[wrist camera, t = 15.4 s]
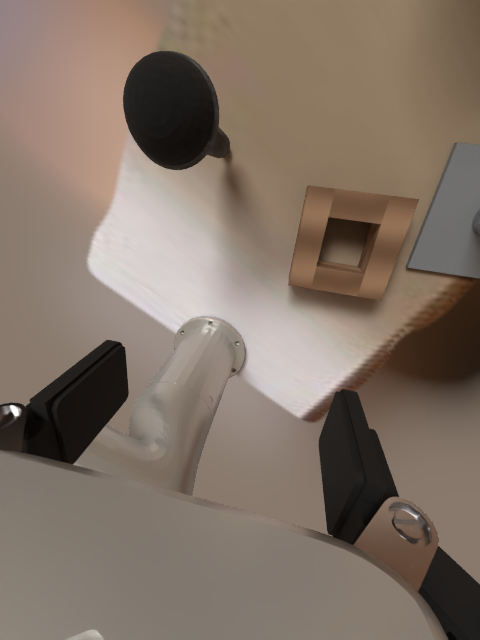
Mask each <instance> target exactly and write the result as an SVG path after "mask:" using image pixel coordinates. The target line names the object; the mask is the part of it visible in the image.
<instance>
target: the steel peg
mask: <svg viewBox="0 0 480 640" xmlns="http://www.w3.org/2000/svg"><path fill="white" fill-rule="evenodd" d="M472 226H473V230H474V231H475V233H476V234H478V235H480V210H479V211H478V212H477V213H476V215H475V216H474V219H473V223H472Z"/></svg>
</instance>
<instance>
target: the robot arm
mask: <svg viewBox="0 0 480 640" xmlns="http://www.w3.org/2000/svg"><path fill="white" fill-rule="evenodd" d="M237 341H238V342H237ZM244 358H245V347H244V343H243V340H242V338H241V337H240V335H239V334H238V332H237V331H236V330H235V329H234V328H233V327H232V326H231V325H229V324H228V323H226V322H225V321H223V320H220V319H218V318H214V317H206V316H202V317H196V318H193V319H190V320H189V321H187V322H186V323H184V324H183V325H182V326H181V328H180V329H179V330H178V332H177V334H176V336H175V340H174V352H173V353H172V354H171V356H170V357H169V358H168V359H167V361H166V362H165V363H164V365H163V366H162V367H161V369H160V370H159V371H158V373H157V374H156V375H155V376H154V378H153V379H152V381H151V382H150V383H149V384H148V386H147V387H146V388H145V390H144V391H143V392H142V393H141V395H140V396H139V397H138V399H137V401H136V402H135V405H134V407H133V409H132V412H131V417H130V424H129V435H127V434H124V433H122V432H120V431H119V430H117V429H115V428H113V427H112V426H110V425H108V424H107V423H108V422H109V420H110V419H111V418H112V417H113V416H114V414H115V413H116V412H117V411H118V410H119V408H120V407H121V406H122V405H123V403H124V402H125V401H126V399H127V397H128V393H129V392H128V379H127V366H126V353H125V347H123V346H122V344H121V343H120V342H116V341H111V340H106V341H105V342H103V343H102V344H101V345H100V346H98V347H97V348H96V349H94V350H93V351H92V352H91V353H89V354H88V355H87V356H85V357H84V358H83V359H81V360H80V361H79V362H78V363H76V364H75V365H74V366H72V367H71V368H70V369H69V370H67V371H66V372H65V373H64V374H62V375H61V376H60V377H58V378H57V379H56V380H54V381H53V382H52V383H51V384H49V385H48V386H47V387H45V388H44V389H43V390H41V391H40V392H39V393H38V394H36V395H35V396H34V397H33V398H31V399H30V403H29V404H28V405H27V406H24V405H23V404H20V403H4V404H1V405H0V640H480V584H479V583H478V582H476V581H475V580H474V579H473V578H472V577H471V576H470V575H469V574H468V573H467V572H466V571H465V570H463V569H462V567H460V566H459V565H458V564H457V563H456V562H455V561H454V560H453V559H452V558H451V557H450V556H449V555H448V554H446V552H444V551H443V550H442V549H441V548H440V547H439V546H438V543H439V538H438V533H437V531H436V528H435V526H434V524H433V522H432V521H431V520H430V518H429V517H428V516H427V514H426V513H424V512H423V511H422V510H421V509H420V508H419V507H418V506H416V505H415V504H414V503H412V502H411V501H408V500H406V499H404V498H400V497H399V495H398V493H397V490H396V487H395V484H394V481H393V478H392V475H391V473H390V470H389V467H388V464H387V461H386V458H385V455H384V452H383V450H382V447H381V444H380V441H379V438H378V435H377V433H376V431H375V430H374V429H369V427H368V424H367V421H366V417H365V414H364V411H363V408H362V405H361V402H360V399H359V396H358V393H357V392H354V391H350V390H345V389H342V390H341V391H340V392H336V393H335V396H334V398H333V401H332V404H331V407H330V410H329V412H328V415H327V418H326V421H325V424H324V427H323V429H322V432H321V435H320V439H319V453H320V462H321V473H322V482H323V493H324V502H325V512H326V522H327V531H328V534H330V535H333V537H332V536H329V535H326V534H323V533H320V532H317V531H314V530H311V529H307V528H304V527H301V526H297V525H294V524H290V523H287V522H284V521H280V520H277V519H273V518H270V517H266V516H263V515H259V514H255V513H252V512H248V511H244V510H241V509H237V508H234V507H230V506H226V505H223V504H219V503H215V502H211V501H208V500H204V499H201V498H197V497H193V496H192V494H193V488H194V481H195V477H196V472H197V468H198V463H199V460H200V457H201V453H202V450H203V447H204V444H205V441H206V438H207V435H208V432H209V429H210V427H211V424H212V421H213V418H214V416H215V413H216V410H217V407H218V405H219V402H220V399H221V396H222V393H223V391H224V388H225V385H226V382H227V379H228V378H230V377H232V376H234V375H235V374H236V373H237V372H238V371H239V370H240V368H241V366H242V365H243V361H244Z"/></svg>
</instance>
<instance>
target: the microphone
mask: <svg viewBox="0 0 480 640" xmlns="http://www.w3.org/2000/svg"><path fill="white" fill-rule="evenodd" d="M123 106H124V112H125V118H126V122H127V125H128V128H129V130H130V132H131V134H132V136H133V138H134V140H135V141H136V143H137V144H138V146H139V147H140V149H141V150H142V151H143V152H144V153H145V155H146V156H147V157H148V158H149V159H151V160H152V161H153V162H154V163H156V164H158V165H159V166H162V167H164V168H167V169H172V170H182V169H187V168H189V167H192V166H194V165H196V164H197V163H198V162H200V161H201V160H202V159H203V158H204V157H205V156H206V155H210V156H213V157H216V158H222V157H224V156H225V155H226V154H228V153H229V151H230V142H229V139H228V137H227V135H226V134H225V133H224V132H223V131H222V130H221V129H220V128H219V127H218V125H219V106H218V99H217V95H216V92H215V89H214V86H213V84H212V82H211V80H210V78H209V76H208V75H207V73H206V72H205V70H204V69H203V68H202V67H201V66H200V65H199V64H198V63H197V62H196V61H195V60H193V59H192V58H190V57H189V56H186V55H184V54H182V53H178V52H174V51H159V52H154V53H151V54H149V55H147V56H145V57H143V58H142V59H141V60H140V61H139V62H138V63H136V64H135V66H134V67H133V68H132V70H131V71H130V73H129V76H128V78H127V80H126V84H125V87H124V95H123Z"/></svg>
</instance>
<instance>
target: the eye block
mask: <svg viewBox="0 0 480 640" xmlns="http://www.w3.org/2000/svg"><path fill="white" fill-rule="evenodd" d="M418 201H419V199H412V198H404V197H396V196H388V195H380V194H372V193H364V192H356V191H348V190H340V189H332V188H324V187H316V186H307V190H306V195H305V200H304V205H303V210H302V215H301V220H300V225H299V230H298V235H297V239H296V244H295V249H294V254H293V259H292V264H291V269H290V274H289V283H288V285H291V286H297V287H303V288H309V289H315V290H321V291H327V292H333V293H339V294H345V295H351V296H357V297H363V298H369V299H375V300H382V297H383V294H384V292H385V289H386V286H387V284H388V281H389V278H390V276H391V273H392V270H393V268H394V265H395V262H396V260H397V257H398V254H399V252H400V249H401V246H402V244H403V241H404V238H405V236H406V233H407V230H408V228H409V225H410V222H411V220H412V217H413V214H414V212H415V209H416V206H417V204H418ZM328 217H332V218H339V219H347V220H354V221H361V222H369V223H372V224H371V227H370V230H369V233H368V236H367V239H366V243H365V246H364V249H363V252H362V255H361V258H360V262H359V265H358V267H357V266H351V265H344V264H338V263H331V262H325V261H318V258H319V254H320V250H321V246H322V242H323V237H324V233H325V229H326V225H327V221H328Z"/></svg>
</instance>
